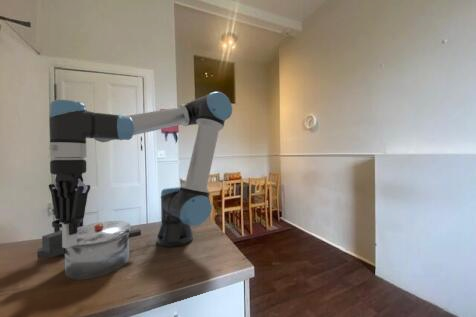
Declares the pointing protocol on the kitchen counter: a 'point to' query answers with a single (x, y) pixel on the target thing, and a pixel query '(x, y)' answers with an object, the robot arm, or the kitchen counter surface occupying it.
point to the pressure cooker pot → (94, 257)
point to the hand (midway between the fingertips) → (69, 245)
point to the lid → (88, 235)
